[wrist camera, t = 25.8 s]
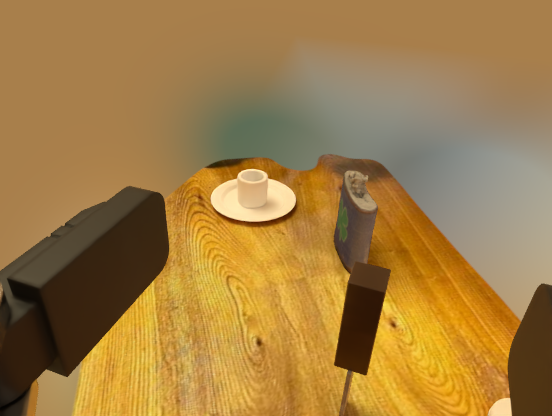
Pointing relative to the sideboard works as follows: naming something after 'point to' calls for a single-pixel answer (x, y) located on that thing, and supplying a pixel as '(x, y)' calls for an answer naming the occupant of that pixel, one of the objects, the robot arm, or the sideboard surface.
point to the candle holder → (253, 197)
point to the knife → (360, 321)
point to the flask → (354, 220)
